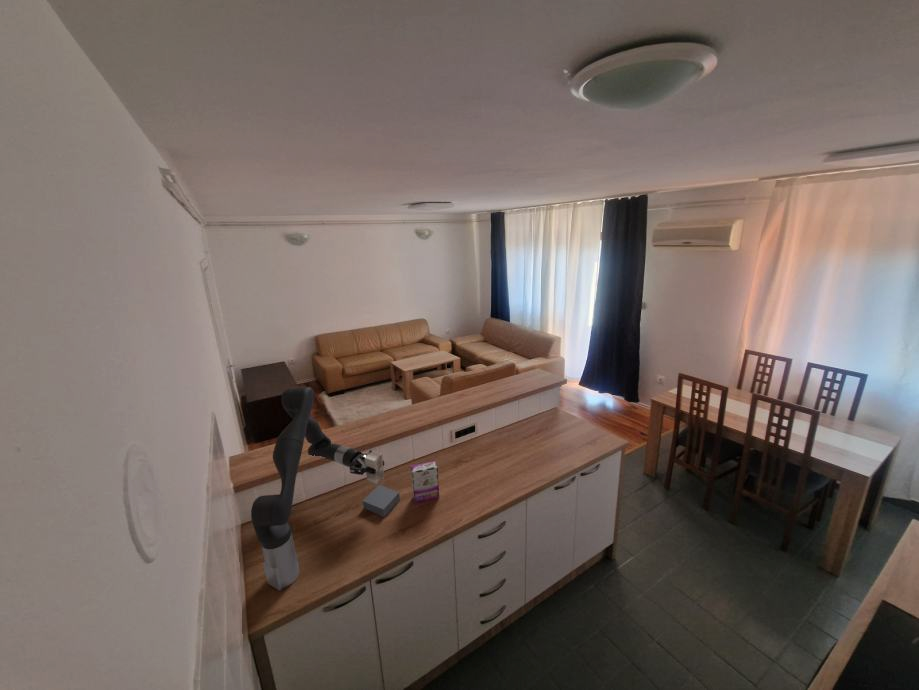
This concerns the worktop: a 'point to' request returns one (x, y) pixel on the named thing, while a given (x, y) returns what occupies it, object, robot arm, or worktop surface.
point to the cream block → (375, 467)
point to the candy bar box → (425, 481)
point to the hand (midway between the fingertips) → (379, 467)
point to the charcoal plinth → (381, 500)
